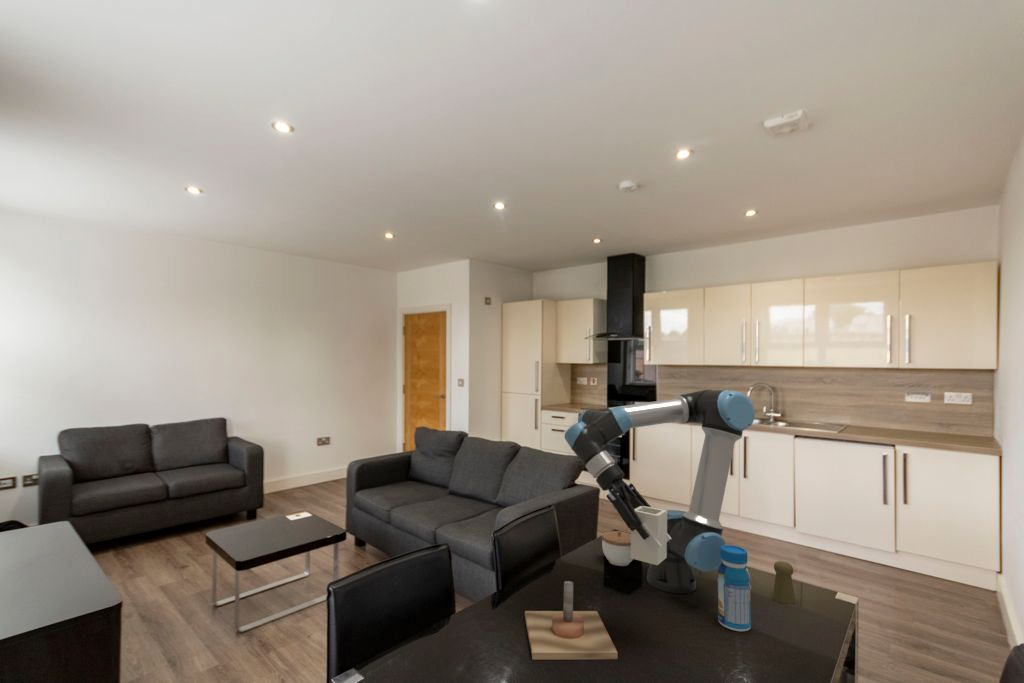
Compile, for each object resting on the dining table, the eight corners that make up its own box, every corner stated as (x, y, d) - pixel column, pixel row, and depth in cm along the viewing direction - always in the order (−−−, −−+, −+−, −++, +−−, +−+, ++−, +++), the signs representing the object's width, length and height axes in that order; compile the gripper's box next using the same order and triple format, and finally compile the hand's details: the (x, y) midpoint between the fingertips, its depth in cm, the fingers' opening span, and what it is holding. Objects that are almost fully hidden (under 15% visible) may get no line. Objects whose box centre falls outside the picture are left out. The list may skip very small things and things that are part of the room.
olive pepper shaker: (798, 605, 141) (798, 567, 142) (776, 602, 142) (776, 565, 143) (791, 596, 147) (790, 560, 148) (770, 594, 148) (769, 558, 149)
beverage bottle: (737, 635, 123) (737, 556, 124) (710, 620, 130) (710, 545, 132) (758, 628, 127) (757, 551, 128) (731, 614, 134) (730, 542, 136)
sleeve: (630, 558, 122) (631, 510, 123) (640, 551, 127) (641, 505, 128) (657, 565, 117) (658, 515, 119) (666, 557, 123) (667, 510, 124)
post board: (524, 616, 129) (526, 567, 130) (596, 616, 130) (597, 568, 131) (532, 659, 109) (534, 601, 110) (617, 659, 110) (618, 601, 111)
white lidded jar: (638, 559, 175) (638, 528, 176) (635, 571, 163) (635, 538, 164) (604, 554, 179) (604, 524, 180) (599, 565, 167) (599, 533, 168)
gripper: (611, 475, 141) (664, 543, 130) (579, 484, 125) (637, 564, 114) (628, 459, 138) (684, 528, 127) (598, 467, 122) (659, 546, 111)
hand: (662, 545), depth 121 cm, fingers closed on sleeve, 7 cm apart
